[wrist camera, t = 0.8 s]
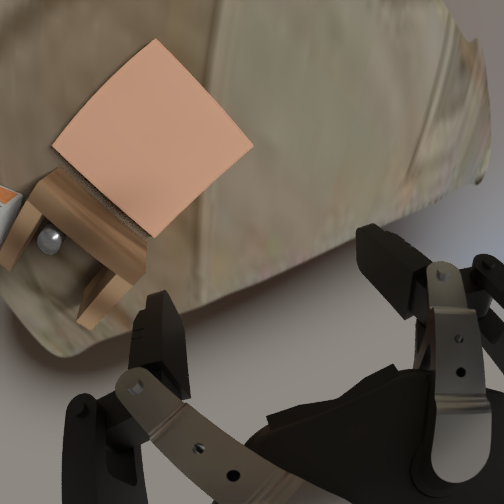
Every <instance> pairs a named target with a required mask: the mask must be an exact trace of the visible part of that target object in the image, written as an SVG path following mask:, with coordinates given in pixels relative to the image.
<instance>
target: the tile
mask: <svg viewBox="0 0 504 504" xmlns="http://www.w3.org/2000/svg"><path fill="white" fill-rule="evenodd" d="M52 146H53V147H54V148H55V149H56V150H57V151H58V152H59V153H60V154H61V155H62V156H63V157H64V158H65V159H66V160H67V161H68V162H69V163H70V164H72V165H73V166H74V167H75V168H76V169H77V170H78V171H79V172H80V173H81V174H82V175H83V176H84V177H85V178H87V179H88V180H89V181H90V182H91V183H92V184H93V185H94V186H95V187H96V188H98V189H99V190H100V191H101V192H102V193H103V194H104V195H105V196H106V197H108V198H109V199H110V200H111V201H112V202H113V203H114V204H115V205H117V206H118V207H119V208H120V209H121V210H122V211H123V212H125V213H126V214H127V215H128V216H129V217H130V218H132V219H133V220H134V221H135V222H136V223H137V224H139V225H140V226H141V227H142V228H143V229H144V230H146V231H147V232H148V233H149V234H150V235H152V236H153V237H154V238H155V237H156V236H157V235H158V234H159V233H160V232H161V231H162V230H163V229H164V228H165V227H166V226H167V225H168V224H169V223H170V222H171V221H172V220H173V219H174V218H175V217H176V216H177V215H178V214H179V213H180V212H181V211H183V210H184V209H185V208H186V207H187V206H188V205H189V204H190V203H191V202H192V201H193V200H194V199H195V198H196V197H197V196H198V195H199V194H200V193H202V192H203V191H204V190H205V189H206V188H207V187H208V186H209V185H210V184H211V183H212V182H214V181H215V180H216V179H217V178H218V177H219V176H220V175H221V174H222V173H224V172H225V171H226V170H227V169H228V168H229V167H230V166H231V165H233V164H234V163H235V162H236V161H237V160H238V159H239V158H241V157H242V156H243V155H244V154H245V153H246V152H248V151H249V150H250V149H251V148H252V147H254V145H253V144H252V143H251V142H250V141H249V139H248V138H247V137H246V136H245V135H244V133H243V132H242V131H241V130H240V129H239V128H238V126H237V125H236V124H235V123H234V122H233V121H232V119H231V118H230V117H229V116H228V115H227V114H226V113H225V111H224V110H223V109H222V108H221V107H220V106H219V105H218V103H217V102H216V101H215V100H214V99H213V98H212V97H211V96H210V95H209V93H208V92H207V91H206V90H205V89H204V88H203V87H202V86H201V85H200V84H199V82H198V81H197V80H196V79H195V78H194V77H193V76H192V75H191V74H190V73H189V72H188V71H187V70H186V69H185V68H184V67H183V66H182V64H181V63H180V62H179V61H178V60H177V59H176V58H175V57H174V56H173V55H172V54H171V53H170V52H169V51H168V50H167V49H166V48H165V47H164V46H163V45H162V44H161V43H160V42H159V41H158V40H157V39H154V40H153V41H152V42H150V43H149V44H148V45H147V46H146V47H144V48H143V49H142V50H141V51H140V52H138V53H137V54H136V55H135V56H134V57H133V58H131V59H130V60H129V61H128V62H127V63H126V64H125V65H124V66H123V67H121V68H120V69H119V70H118V71H117V72H116V73H115V74H114V75H113V76H112V77H111V78H110V79H109V80H108V81H107V82H106V83H105V84H104V85H103V86H102V87H101V88H100V89H99V90H98V91H97V92H96V93H95V94H94V95H93V96H92V98H91V99H90V100H89V101H88V102H87V103H86V104H85V105H84V106H83V108H82V109H81V110H80V111H79V112H78V113H77V114H76V116H75V117H74V118H73V119H72V120H71V122H70V123H69V124H68V125H67V127H66V128H65V129H64V130H63V132H62V133H61V134H60V136H59V137H58V138H57V139H56V141H55V142H54V143H53V145H52Z"/></svg>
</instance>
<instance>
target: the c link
mask: <svg viewBox="0 0 504 504" xmlns="http://www.w3.org/2000/svg"><path fill="white" fill-rule="evenodd" d="M45 217H46V218H47V219H48V220H50V221H51V222H52V223H53V224H54V225H55V226H56V227H58V228H59V229H60V230H61V231H62V232H63V233H65V234H66V235H67V236H68V237H69V238H71V239H72V240H73V241H74V242H76V243H77V244H78V245H79V246H80V247H82V248H83V249H84V250H85V251H87V252H88V253H89V254H91V255H92V256H93V257H94V258H96V259H97V260H98V261H100V262H101V263H102V264H103V265H104V266H103V267H102V268H101V269H100V270H99V272H98V273H97V274H96V275H95V276H94V278H93V279H92V280H91V281H90V283H89V284H88V285H87V286H86V287H85V290H84V293H83V297H82V300H81V304H80V308H79V312H78V316H77V320H76V322H78V323H79V324H81V325H82V326H84V327H86V328H87V329H89V330H90V331H91V330H92V329H93V328H94V327H95V326H96V325H97V324H98V323H99V321H100V320H101V319H102V318H103V317H104V316H105V315H106V314H107V313H108V312H109V311H110V309H111V308H112V307H113V306H114V305H115V304H116V303H117V302H118V301H119V300H120V299H121V298H122V297H123V296H124V295H125V293H126V292H127V291H128V290H129V289H130V288H131V287H132V286H133V285H134V284H135V283H136V282H137V281H138V280H139V279H140V278H141V277H142V276H143V275H144V274H145V273H146V252H147V242H145V241H144V240H143V239H142V238H141V237H139V236H138V235H137V234H136V233H135V232H133V231H132V230H131V229H130V228H129V227H127V226H126V225H125V224H124V223H123V222H122V221H120V220H119V219H118V218H117V217H116V216H115V215H113V214H112V213H111V212H110V211H109V210H108V209H106V208H105V207H104V206H103V205H102V204H101V203H100V202H98V201H97V200H96V199H95V198H94V197H93V196H92V195H91V194H89V193H88V192H87V191H86V190H85V189H84V188H83V187H82V186H81V185H80V184H78V183H77V182H76V181H75V180H74V179H73V178H72V177H71V176H70V175H69V174H68V173H67V172H65V171H64V170H63V169H62V168H61V167H60V166H59V167H58V168H57V169H55V170H54V171H52V172H51V173H50V174H48V175H47V176H46V177H44V178H43V179H42V180H40V181H39V182H38V183H37V184H36V186H35V188H34V189H33V191H32V192H31V194H30V196H29V197H28V199H27V201H26V202H25V204H24V206H23V208H22V209H21V211H20V213H19V215H18V216H17V218H16V220H15V222H14V224H13V226H12V228H11V230H10V232H9V234H8V236H7V238H6V240H5V242H4V244H3V246H2V248H1V250H0V265H1V266H2V267H4V268H5V269H6V270H7V271H8V272H9V273H10V271H11V270H12V268H13V267H14V265H15V264H16V262H17V261H18V259H19V258H20V256H21V255H22V253H23V252H24V250H25V249H26V248H27V246H28V245H29V243H30V242H31V240H32V238H33V236H34V235H35V233H36V231H37V230H38V228H39V227H40V225H41V223H42V222H43V220H44V219H45Z"/></svg>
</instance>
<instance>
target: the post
mask: <svg viewBox="0 0 504 504" xmlns="http://www.w3.org/2000/svg"><path fill="white" fill-rule="evenodd" d="M66 236H67V235H66V234H65V233H63V232H62V231H61V230H60V229H59V228H58V227H56V226H55V225H54V224H53V223H52V222H51V221H49V222H48V223H47V225H46V226H45V227H44V229H43V230H42V231H41V233H40V234H39V236H38V238H37V243H38V246H39V248H40V250H41V251H42V252H43V253H45V254H48V255H53V254H55V253H56V252H57V251H58V250H59V248H60V246H61V244H62V243H63V241H64V239H65V238H66Z"/></svg>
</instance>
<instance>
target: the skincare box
mask: <svg viewBox="0 0 504 504" xmlns="http://www.w3.org/2000/svg"><path fill="white" fill-rule="evenodd" d="M22 198H23V194H20V193H17V192H15V191H13V190H11V189H8V188H6V187H3V186H1V185H0V245H1V244H2V243H3V242H4V241H5V240H6V238H7V236H8V234H9V232H10V230H11V228H12V226H13V224H14V222H15V220H16V218H17V216H18V215H19V212H20V207H21V202H22Z"/></svg>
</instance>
